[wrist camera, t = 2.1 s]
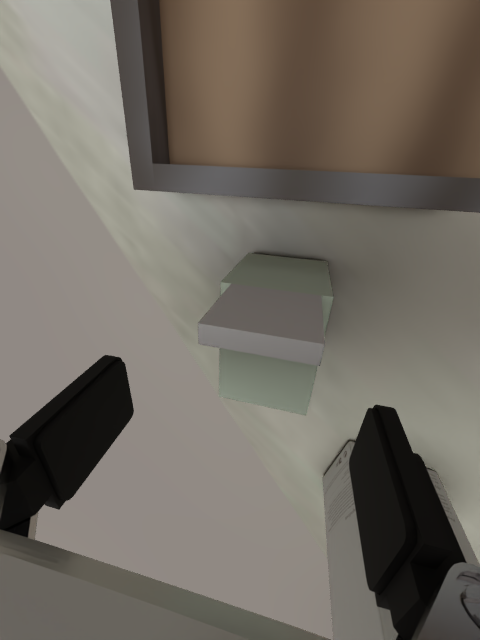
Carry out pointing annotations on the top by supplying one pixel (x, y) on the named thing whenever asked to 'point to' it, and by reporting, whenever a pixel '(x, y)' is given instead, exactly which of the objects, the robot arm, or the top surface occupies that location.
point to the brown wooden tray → (304, 99)
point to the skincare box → (347, 559)
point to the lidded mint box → (270, 330)
